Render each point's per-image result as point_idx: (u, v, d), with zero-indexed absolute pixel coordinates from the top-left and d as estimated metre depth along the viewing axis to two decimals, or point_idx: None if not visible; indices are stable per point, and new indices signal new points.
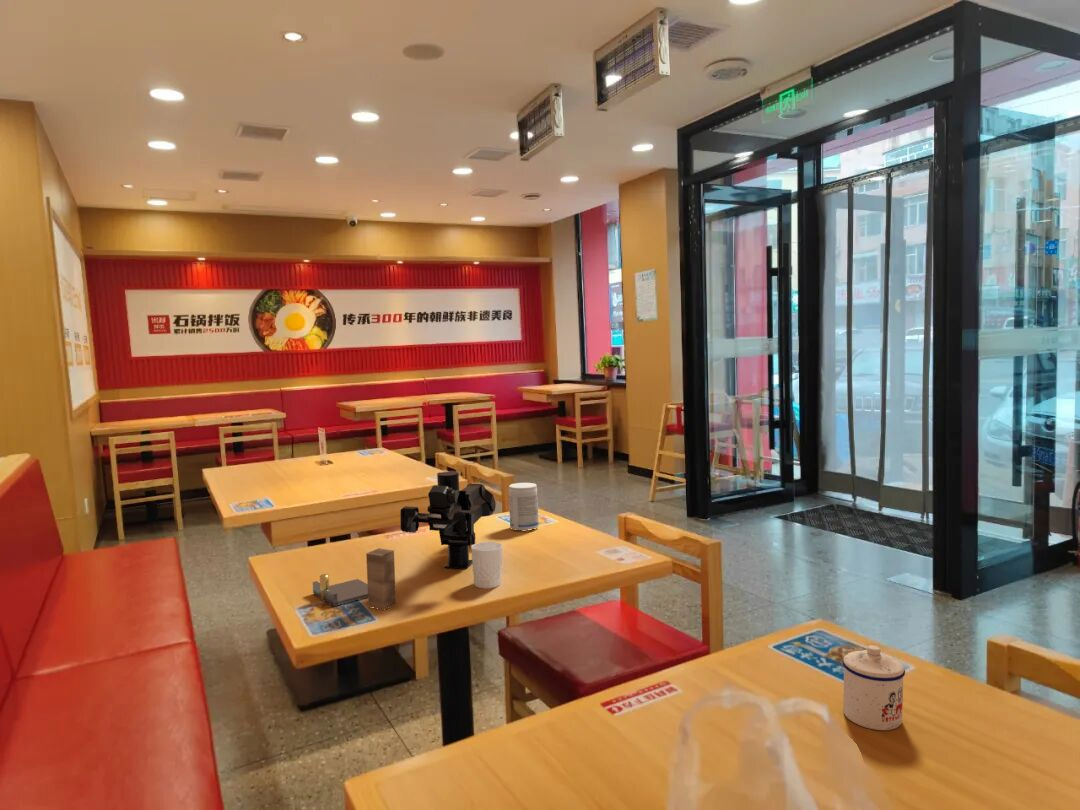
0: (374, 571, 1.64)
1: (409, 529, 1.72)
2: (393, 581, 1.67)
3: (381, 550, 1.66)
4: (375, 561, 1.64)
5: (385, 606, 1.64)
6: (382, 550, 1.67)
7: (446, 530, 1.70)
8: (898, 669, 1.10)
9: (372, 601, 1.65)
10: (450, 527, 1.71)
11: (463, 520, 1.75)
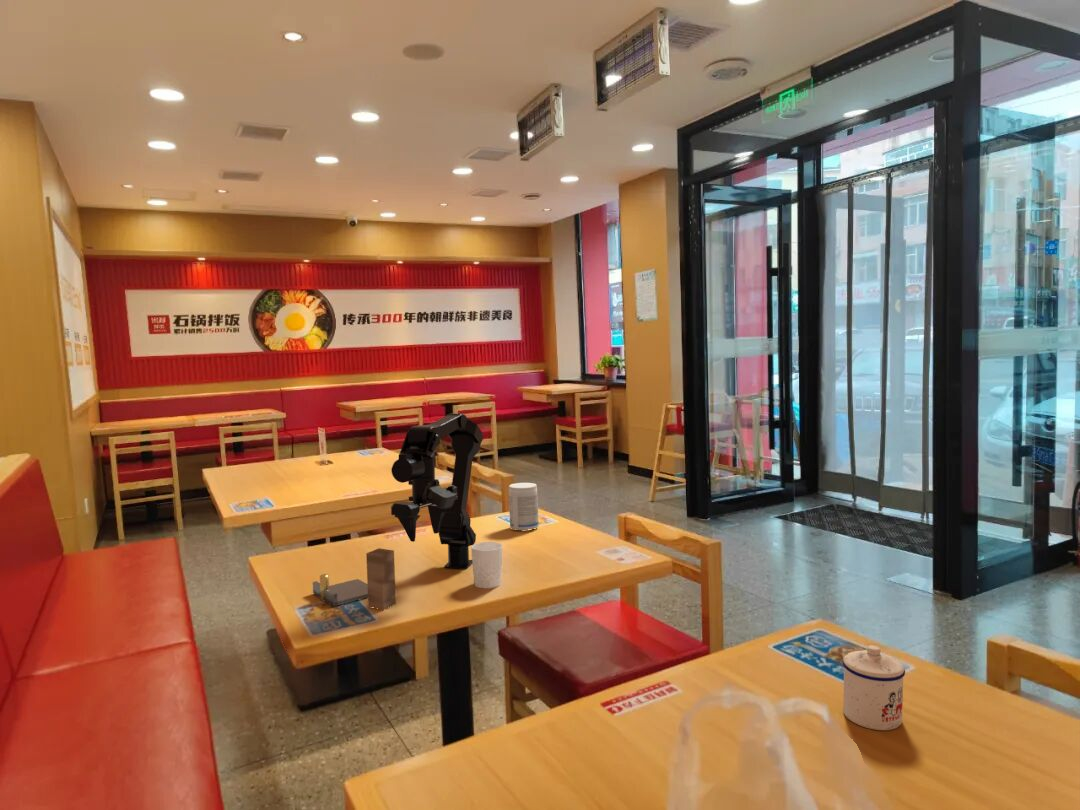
0: (374, 571, 1.64)
1: None
2: (393, 581, 1.67)
3: (381, 550, 1.66)
4: (375, 561, 1.64)
5: (385, 606, 1.64)
6: (382, 550, 1.67)
7: None
8: (898, 669, 1.10)
9: (372, 601, 1.65)
10: None
11: None
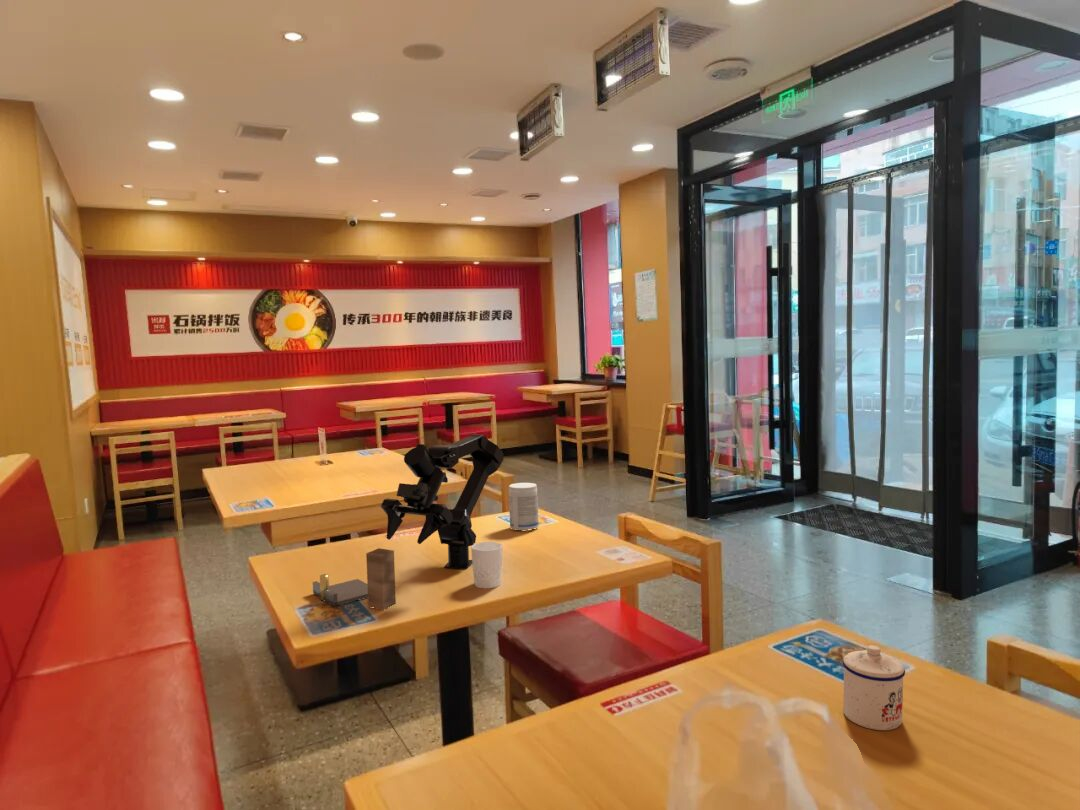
0: (374, 571, 1.64)
1: (390, 536, 1.76)
2: (393, 581, 1.67)
3: (381, 550, 1.66)
4: (375, 561, 1.64)
5: (385, 606, 1.64)
6: (382, 550, 1.67)
7: (420, 539, 1.71)
8: (898, 669, 1.10)
9: (372, 601, 1.65)
10: (424, 533, 1.72)
11: (436, 518, 1.73)
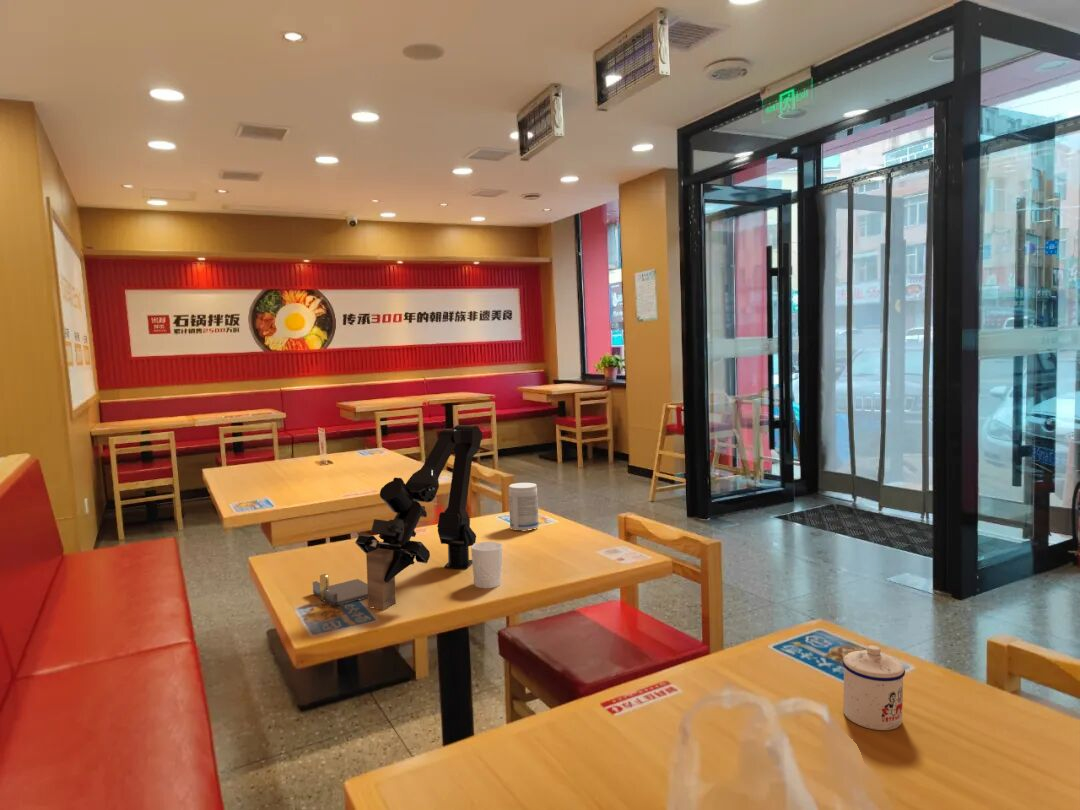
0: (374, 571, 1.64)
1: None
2: (393, 581, 1.67)
3: (381, 550, 1.66)
4: (375, 561, 1.64)
5: (385, 606, 1.64)
6: (382, 550, 1.67)
7: (387, 578, 1.64)
8: (898, 669, 1.10)
9: (372, 601, 1.65)
10: (391, 571, 1.64)
11: (404, 555, 1.65)
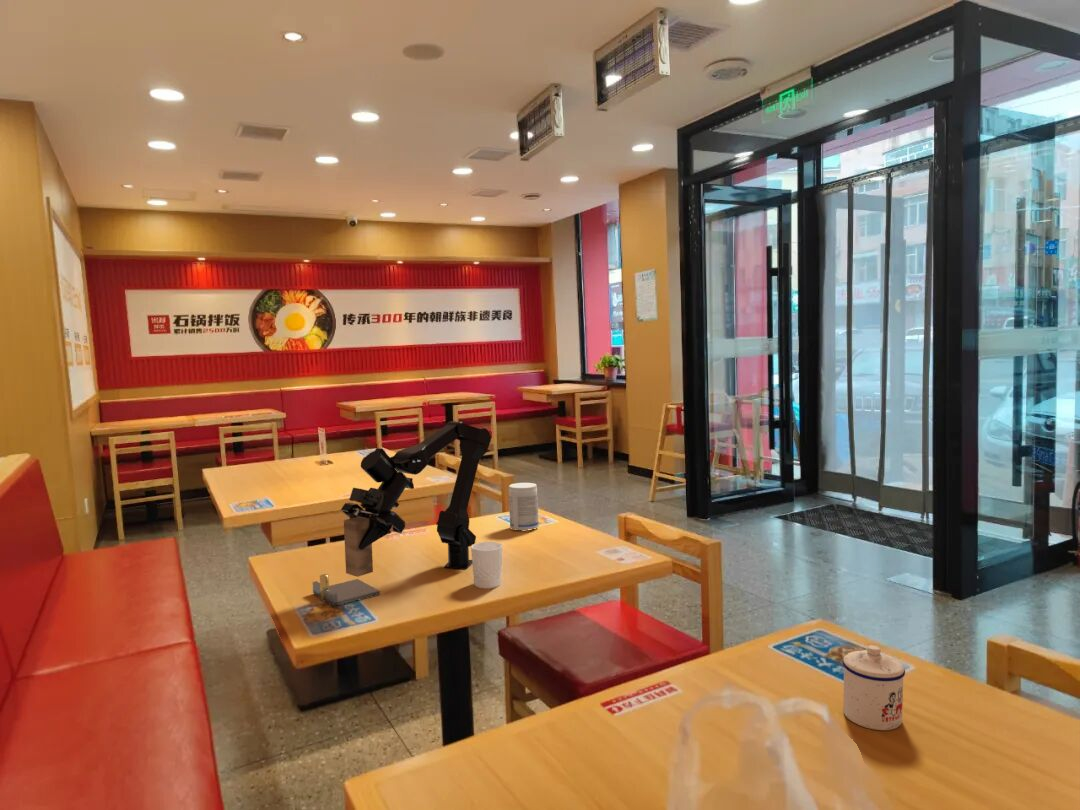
0: (349, 537, 1.67)
1: None
2: (370, 549, 1.69)
3: (359, 518, 1.70)
4: (350, 528, 1.67)
5: (359, 573, 1.67)
6: (360, 518, 1.70)
7: (362, 545, 1.67)
8: (898, 669, 1.10)
9: (349, 567, 1.69)
10: (366, 539, 1.67)
11: (379, 524, 1.67)
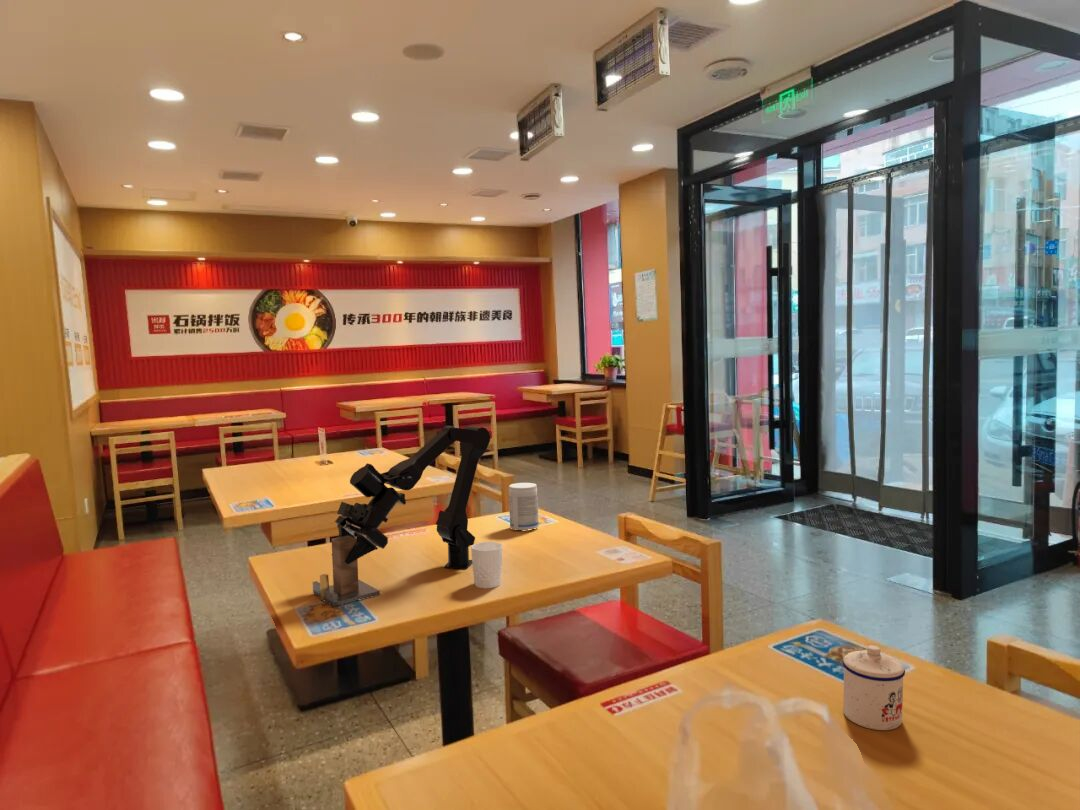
0: (335, 556, 1.73)
1: None
2: (355, 568, 1.74)
3: (346, 538, 1.74)
4: (336, 547, 1.72)
5: (344, 591, 1.72)
6: (347, 537, 1.74)
7: (348, 560, 1.70)
8: (898, 669, 1.10)
9: (335, 585, 1.74)
10: (352, 554, 1.70)
11: (364, 540, 1.70)
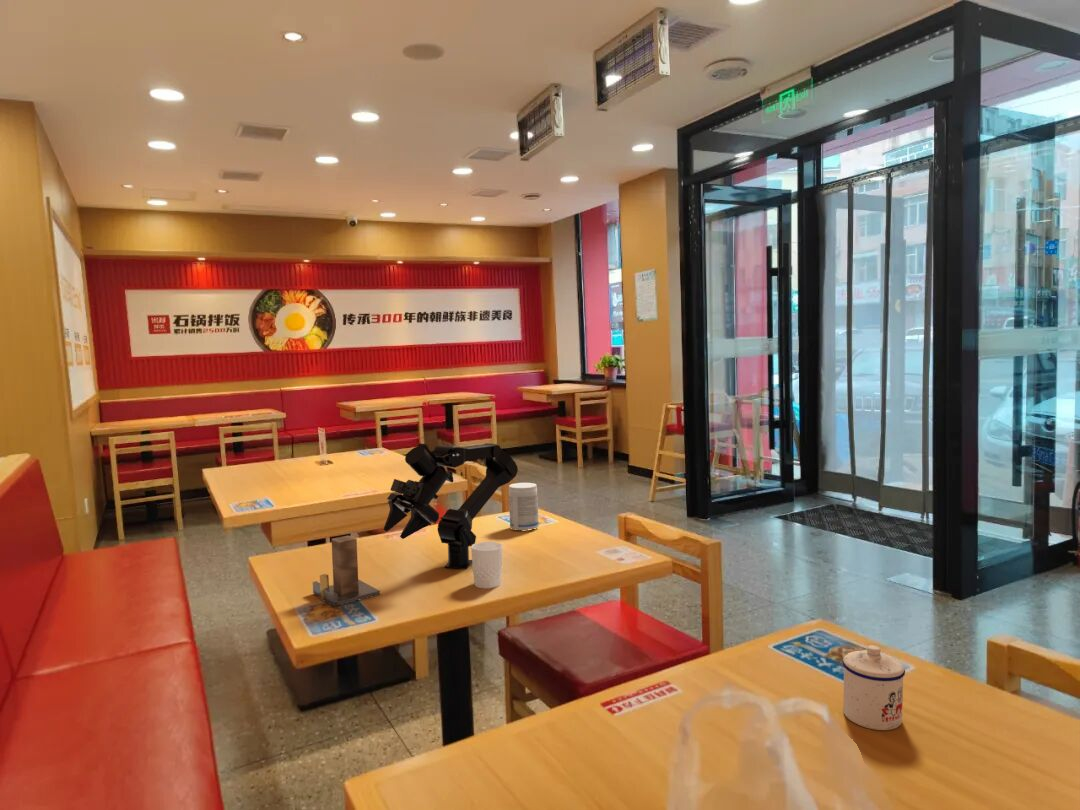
0: (335, 556, 1.73)
1: (387, 528, 1.84)
2: (355, 568, 1.74)
3: (346, 538, 1.74)
4: (336, 547, 1.72)
5: (344, 591, 1.72)
6: (347, 537, 1.74)
7: (403, 535, 1.77)
8: (898, 669, 1.10)
9: (335, 585, 1.74)
10: (407, 529, 1.77)
11: (419, 516, 1.77)
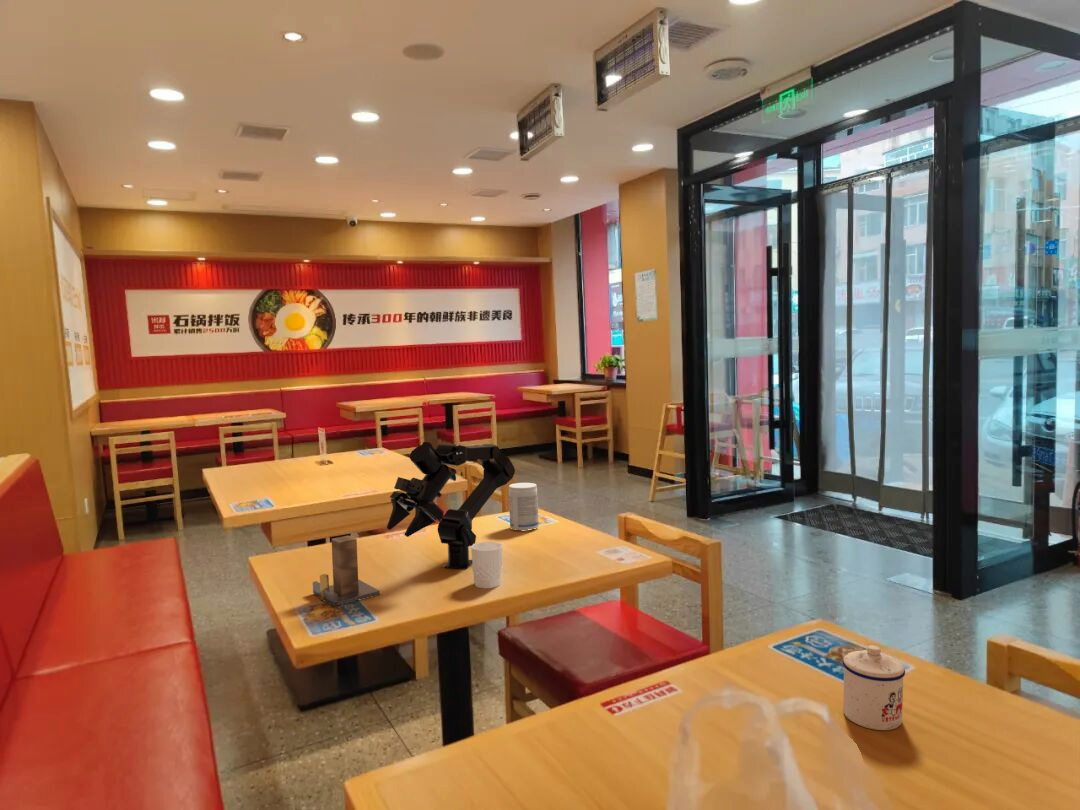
0: (335, 556, 1.73)
1: (390, 527, 1.84)
2: (355, 568, 1.74)
3: (346, 538, 1.74)
4: (336, 547, 1.72)
5: (344, 591, 1.72)
6: (347, 537, 1.74)
7: (407, 533, 1.77)
8: (898, 669, 1.10)
9: (335, 585, 1.74)
10: (412, 527, 1.77)
11: (423, 513, 1.77)
